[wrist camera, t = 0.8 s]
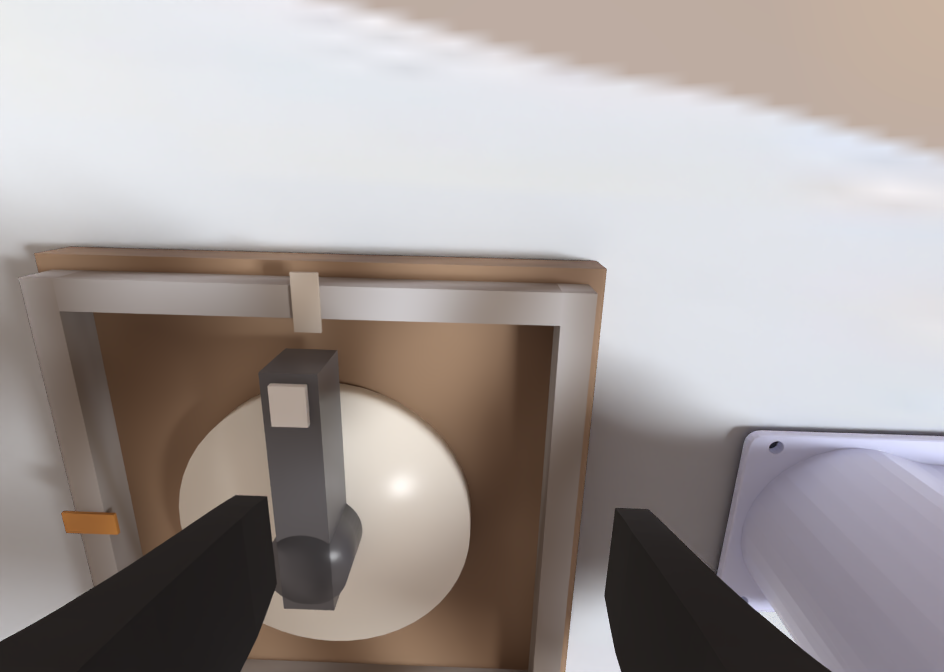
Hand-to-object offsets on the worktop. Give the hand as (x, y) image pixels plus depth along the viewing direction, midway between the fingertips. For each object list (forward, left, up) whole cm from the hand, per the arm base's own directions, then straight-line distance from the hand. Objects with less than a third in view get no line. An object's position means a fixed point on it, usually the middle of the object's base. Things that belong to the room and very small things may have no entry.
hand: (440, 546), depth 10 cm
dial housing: (+5, +5, -9) cm, 12 cm away
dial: (+5, +4, -8) cm, 10 cm away
